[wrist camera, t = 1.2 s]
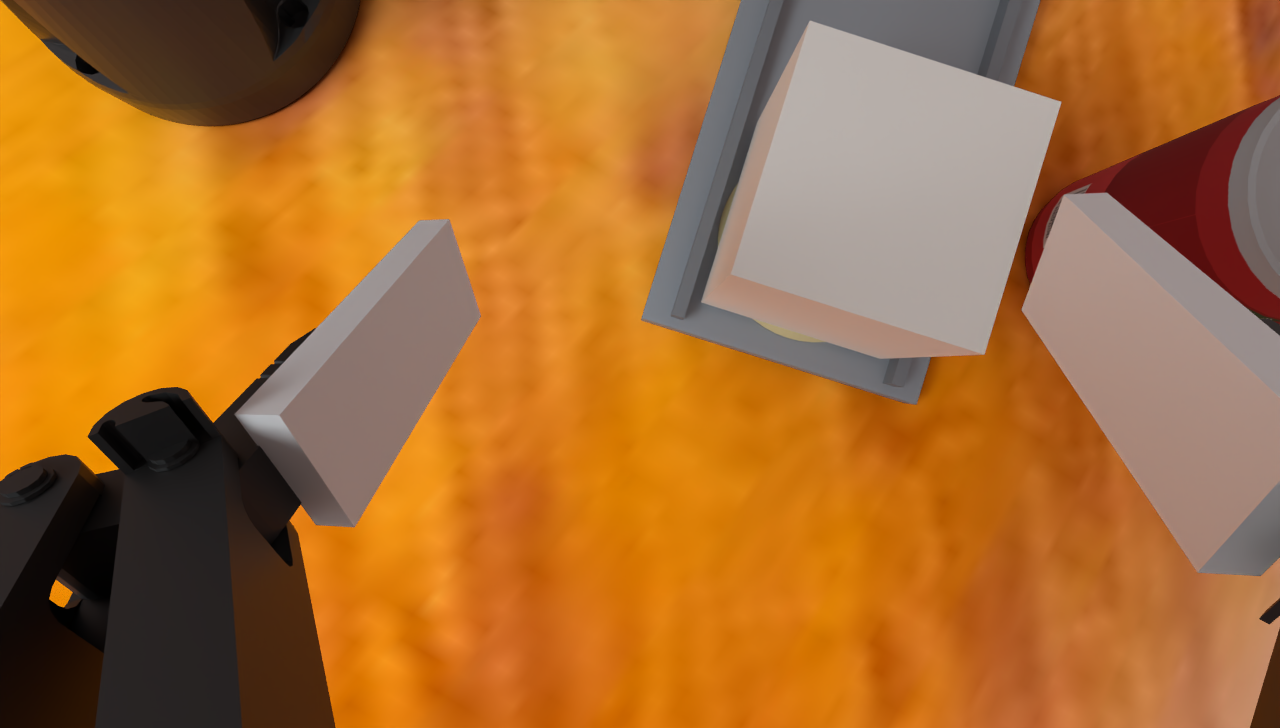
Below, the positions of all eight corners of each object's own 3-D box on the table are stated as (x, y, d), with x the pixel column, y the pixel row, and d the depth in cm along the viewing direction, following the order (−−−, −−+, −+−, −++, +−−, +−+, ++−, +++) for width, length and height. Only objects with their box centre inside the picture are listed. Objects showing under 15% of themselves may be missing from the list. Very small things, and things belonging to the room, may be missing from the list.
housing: (879, 358, 28) (984, 354, 20) (700, 302, 28) (730, 274, 19) (934, 180, 28) (1061, 101, 20) (756, 123, 28) (809, 20, 20)
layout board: (904, 403, 29) (943, 407, 26) (641, 320, 29) (642, 313, 26) (1042, -47, 30) (1099, -104, 26) (782, -132, 30) (804, -201, 26)
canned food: (1047, 356, 30) (1294, 349, 19) (996, 208, 30) (1214, 113, 19) (1187, 308, 30) (1514, 273, 19) (1136, 160, 30) (1433, 38, 19)
